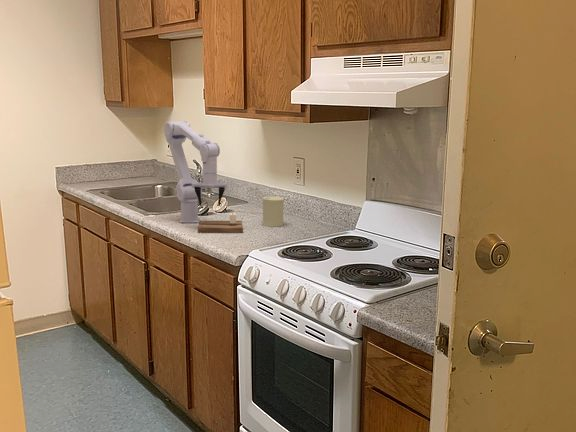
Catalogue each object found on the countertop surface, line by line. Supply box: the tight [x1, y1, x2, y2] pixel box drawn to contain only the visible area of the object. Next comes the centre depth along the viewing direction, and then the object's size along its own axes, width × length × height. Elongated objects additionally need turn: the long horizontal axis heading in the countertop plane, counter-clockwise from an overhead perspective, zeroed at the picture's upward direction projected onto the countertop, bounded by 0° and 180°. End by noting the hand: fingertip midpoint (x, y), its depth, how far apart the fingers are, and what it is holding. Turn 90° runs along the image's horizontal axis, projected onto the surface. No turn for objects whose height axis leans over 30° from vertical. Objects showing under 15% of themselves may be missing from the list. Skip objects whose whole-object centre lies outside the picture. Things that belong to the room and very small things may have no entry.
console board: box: [197, 220, 244, 234], centre depth 247 cm, size 14×18×2 cm
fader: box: [229, 212, 237, 225], centre depth 247 cm, size 5×2×4 cm, turn 6°
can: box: [261, 196, 285, 228], centre depth 257 cm, size 9×9×12 cm
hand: (209, 205), depth 247 cm, fingers open, 7 cm apart
